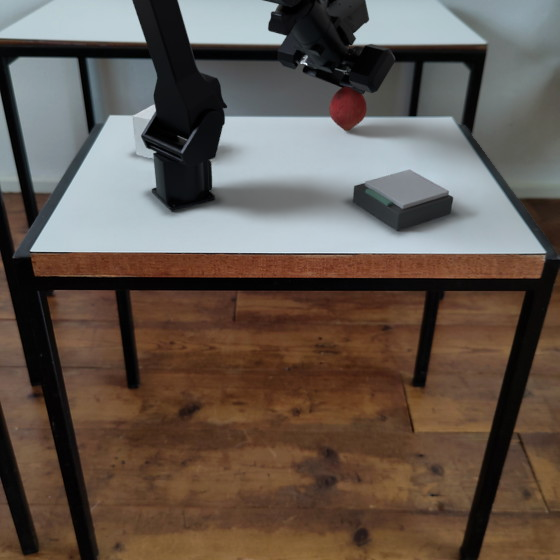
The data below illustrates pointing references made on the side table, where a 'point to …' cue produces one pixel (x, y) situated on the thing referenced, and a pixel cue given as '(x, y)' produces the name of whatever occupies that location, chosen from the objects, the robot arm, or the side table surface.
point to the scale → (403, 199)
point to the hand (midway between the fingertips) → (355, 88)
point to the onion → (347, 108)
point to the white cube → (139, 125)
